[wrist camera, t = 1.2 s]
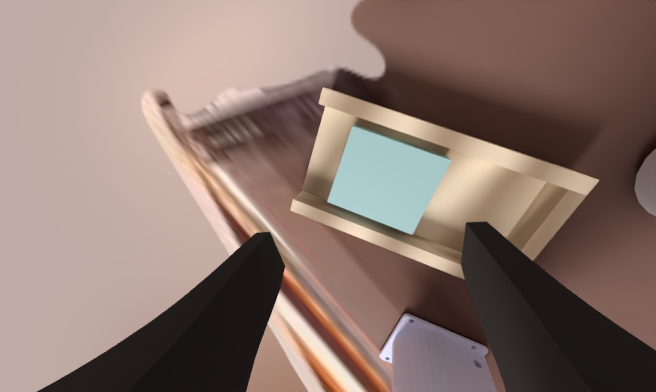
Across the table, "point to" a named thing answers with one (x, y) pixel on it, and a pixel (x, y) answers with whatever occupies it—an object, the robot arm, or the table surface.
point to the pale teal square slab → (387, 178)
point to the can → (647, 184)
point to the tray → (444, 187)
